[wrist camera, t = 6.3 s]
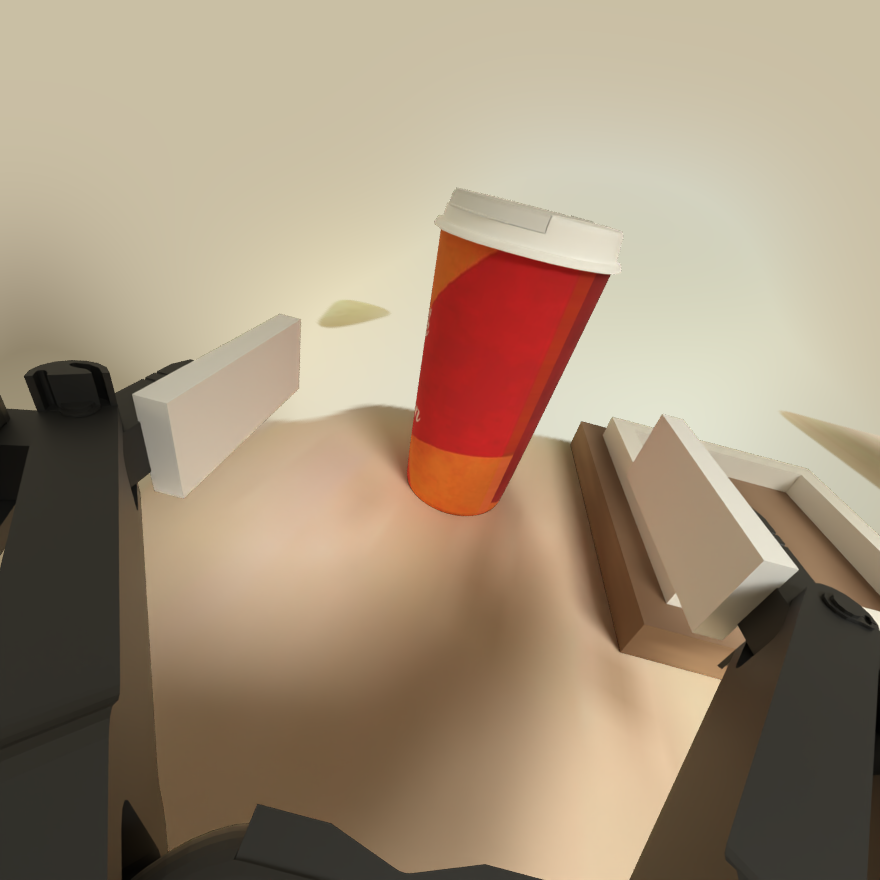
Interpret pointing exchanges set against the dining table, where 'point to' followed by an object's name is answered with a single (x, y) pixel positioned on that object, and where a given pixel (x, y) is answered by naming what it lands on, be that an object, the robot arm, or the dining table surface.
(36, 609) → the robot arm
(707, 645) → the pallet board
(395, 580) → the dining table surface
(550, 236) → the paper cup
